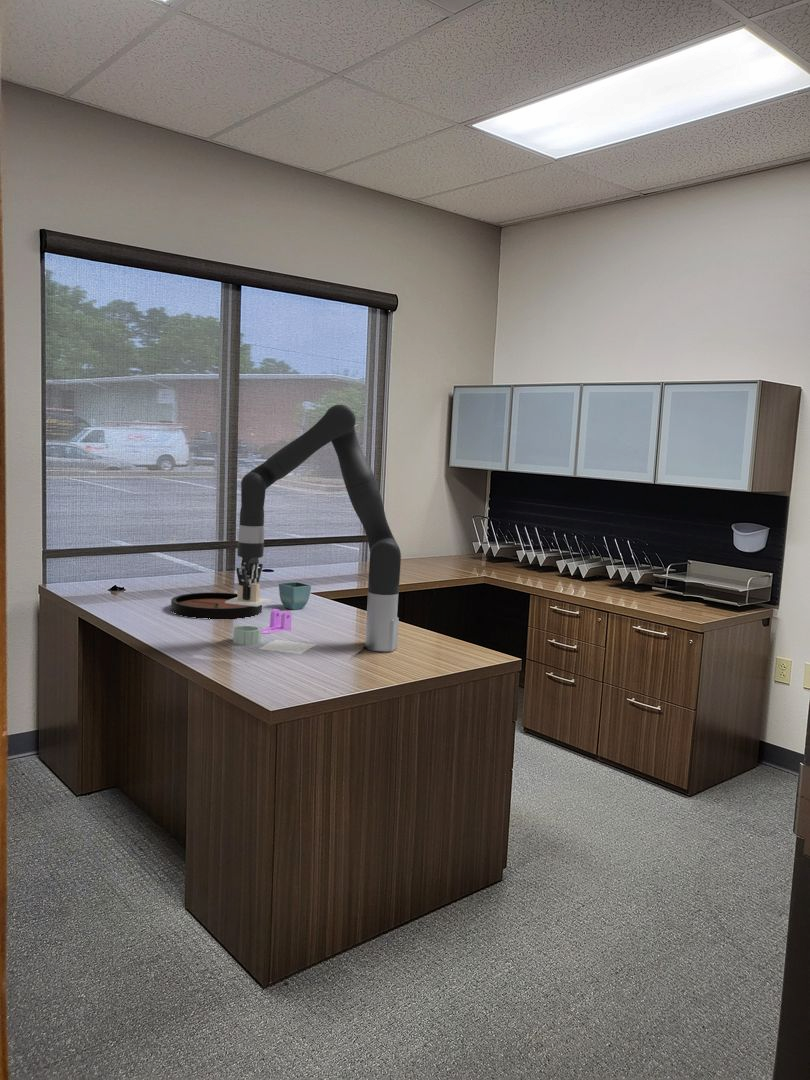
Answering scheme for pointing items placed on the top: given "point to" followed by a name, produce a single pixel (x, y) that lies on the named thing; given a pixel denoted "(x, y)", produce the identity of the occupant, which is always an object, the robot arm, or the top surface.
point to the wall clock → (211, 606)
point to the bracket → (278, 622)
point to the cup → (247, 635)
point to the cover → (254, 597)
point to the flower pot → (294, 594)
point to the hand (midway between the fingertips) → (248, 598)
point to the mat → (287, 646)
